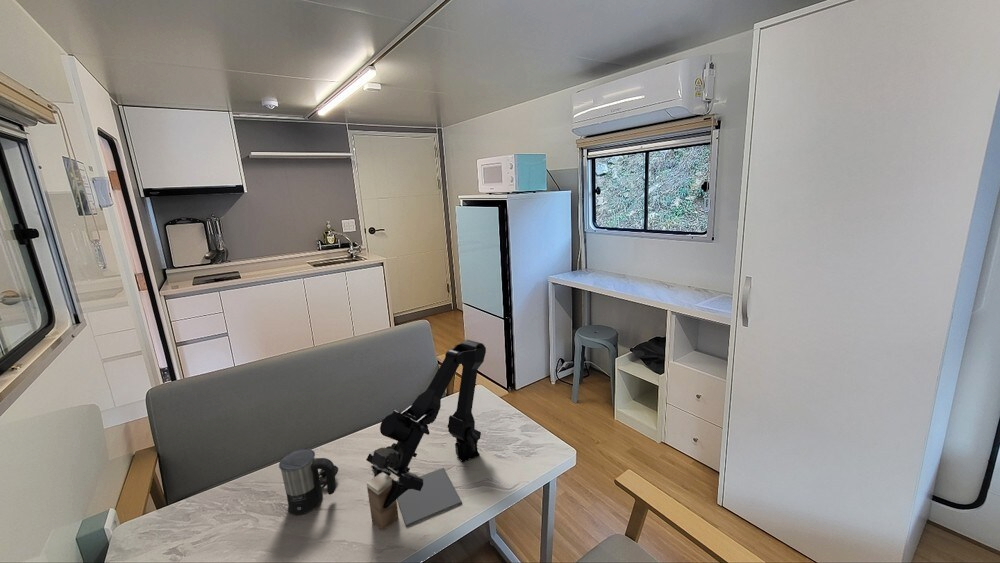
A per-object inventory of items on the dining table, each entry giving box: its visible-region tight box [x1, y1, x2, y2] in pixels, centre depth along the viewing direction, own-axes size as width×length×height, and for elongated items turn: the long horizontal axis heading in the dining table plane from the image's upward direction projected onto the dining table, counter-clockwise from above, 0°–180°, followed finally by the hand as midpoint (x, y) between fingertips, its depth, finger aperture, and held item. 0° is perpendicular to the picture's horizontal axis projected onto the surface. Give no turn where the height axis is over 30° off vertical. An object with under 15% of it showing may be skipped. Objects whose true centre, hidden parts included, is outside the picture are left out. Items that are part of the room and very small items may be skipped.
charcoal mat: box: [396, 467, 463, 527], centre depth 112 cm, size 16×16×1 cm
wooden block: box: [366, 472, 399, 532], centre depth 102 cm, size 5×5×12 cm
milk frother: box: [278, 448, 339, 516], centre depth 113 cm, size 14×16×15 cm
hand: (378, 503), depth 101 cm, fingers open, 5 cm apart
